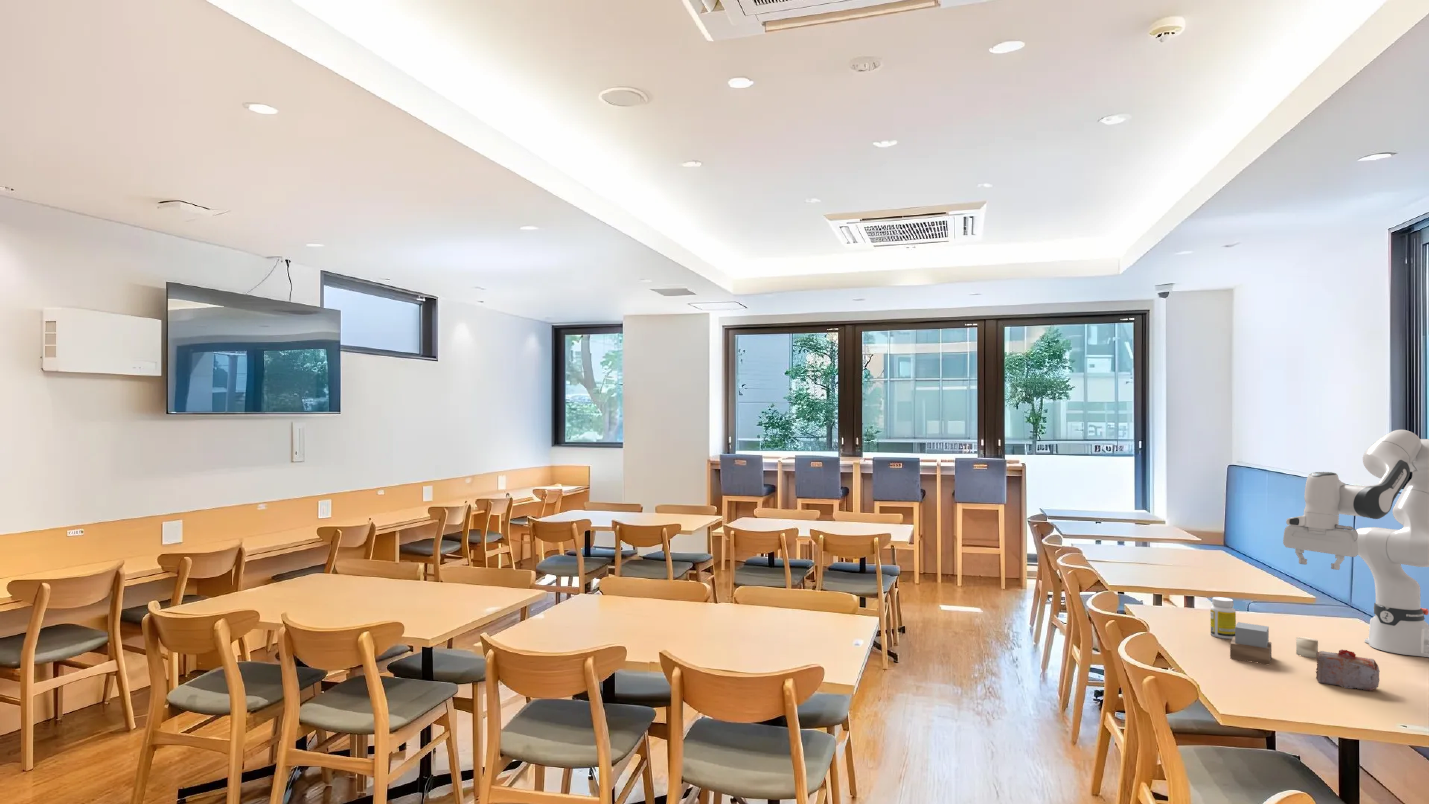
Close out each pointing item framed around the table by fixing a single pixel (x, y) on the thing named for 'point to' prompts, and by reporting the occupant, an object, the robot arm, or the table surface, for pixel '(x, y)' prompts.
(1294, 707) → the table surface
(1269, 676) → the table surface
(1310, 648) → the beige block
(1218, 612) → the supplement bottle
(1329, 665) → the food item
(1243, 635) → the slate grey top block
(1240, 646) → the walnut base block
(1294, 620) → the table surface
